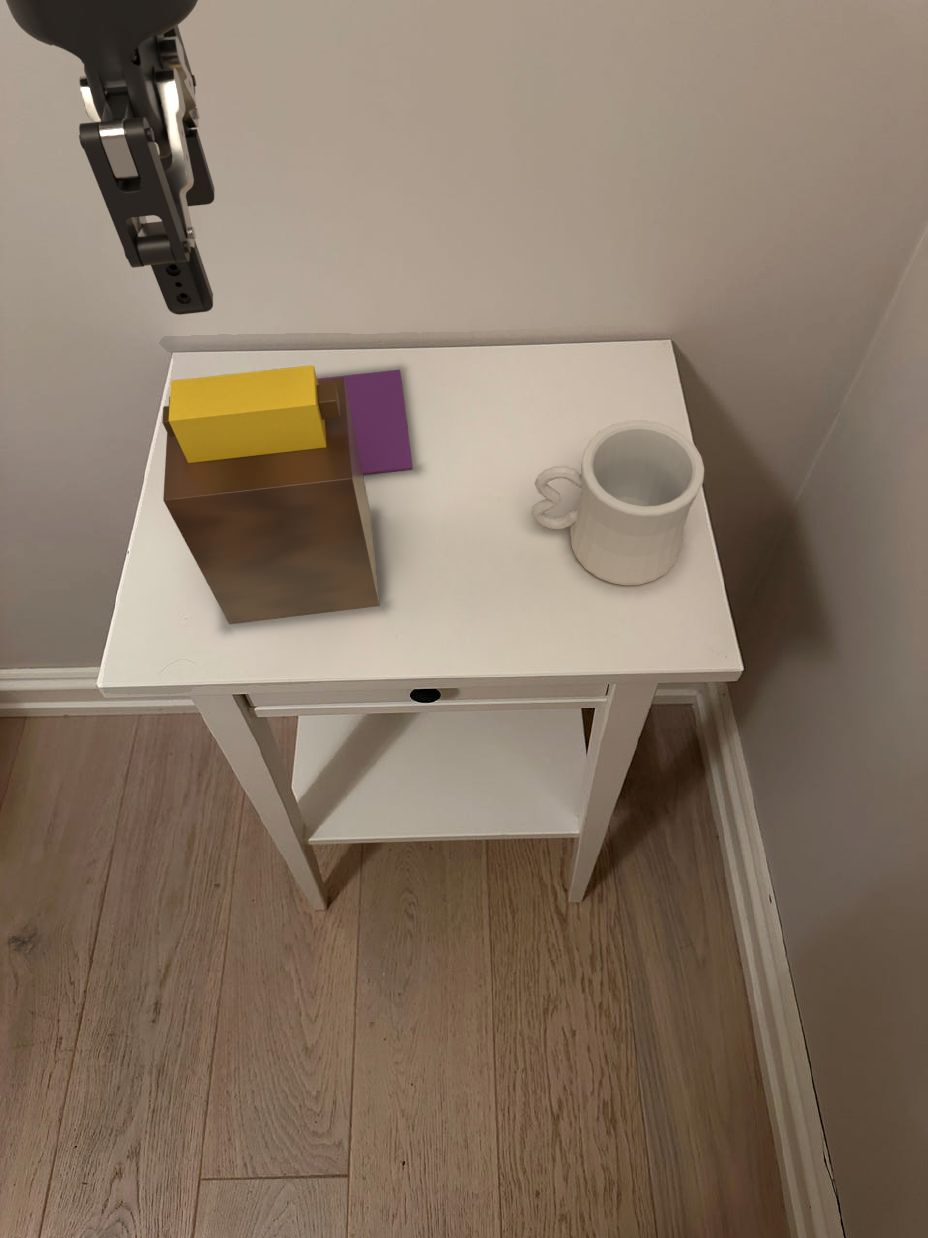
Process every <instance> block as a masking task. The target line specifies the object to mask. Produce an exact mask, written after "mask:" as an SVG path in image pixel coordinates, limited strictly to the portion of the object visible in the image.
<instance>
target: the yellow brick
mask: <svg viewBox="0 0 928 1238" xmlns="http://www.w3.org/2000/svg"><path fill="white" fill-rule="evenodd" d="M317 379H318V377H317V372H316V369H315V365H314V364H311V365H302V366H301V365H300V366H293V367H282V368H274V369H264V370H256V371H247V372H239V373H238V372H237V373H229V374H218V375H212V376H211V375H209V376H201V377H193V378H184V379H175V380H171V381H170V390H169V397H170V406H169V405H165V406H163V407H162V421H161V422H162V425H163V427H164V429H165V431H166V434H167V433H168V436H169V437H174V436H176V438H177V440H178V442H179V444H180V446H181V448H182V451H183V453H184V455H185V457H186V459H187V461H188V463H194V462H203V461H212V460H221V459H229V458H238V457H247V456H256V455H264V454H273V453H282V452H291V451H300V450H308V449H317V448H326V430H325V420H326V419H334V418H340V405H339V397H338V392H337V387H336V384H335V383H328V384H319V385H318V381H317Z"/></svg>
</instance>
